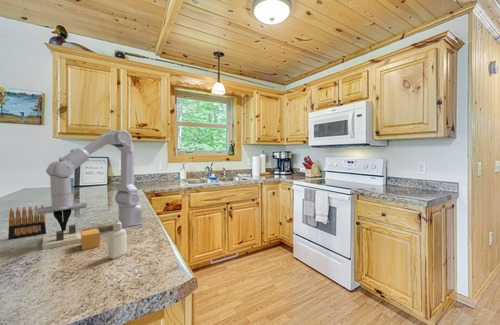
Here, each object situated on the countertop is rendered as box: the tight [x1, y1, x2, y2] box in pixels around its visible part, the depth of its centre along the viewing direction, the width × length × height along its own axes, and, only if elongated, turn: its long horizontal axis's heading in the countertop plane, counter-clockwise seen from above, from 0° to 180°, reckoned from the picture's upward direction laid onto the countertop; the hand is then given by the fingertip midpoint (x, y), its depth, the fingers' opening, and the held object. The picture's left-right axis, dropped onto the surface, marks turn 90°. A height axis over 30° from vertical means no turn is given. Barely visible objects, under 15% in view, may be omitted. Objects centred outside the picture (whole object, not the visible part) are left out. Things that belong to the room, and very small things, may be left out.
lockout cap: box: [80, 228, 101, 251], centre depth 81 cm, size 5×6×5 cm
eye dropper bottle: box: [107, 218, 128, 260], centre depth 73 cm, size 4×6×12 cm
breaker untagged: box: [68, 224, 77, 234], centre depth 90 cm, size 2×3×3 cm, turn 40°
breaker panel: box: [41, 229, 81, 251], centre depth 86 cm, size 11×13×2 cm
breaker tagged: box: [55, 230, 65, 241], centre depth 83 cm, size 2×3×3 cm, turn 40°
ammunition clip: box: [7, 204, 47, 241], centre depth 90 cm, size 11×2×12 cm, turn 129°
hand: (63, 230), depth 84 cm, fingers closed
